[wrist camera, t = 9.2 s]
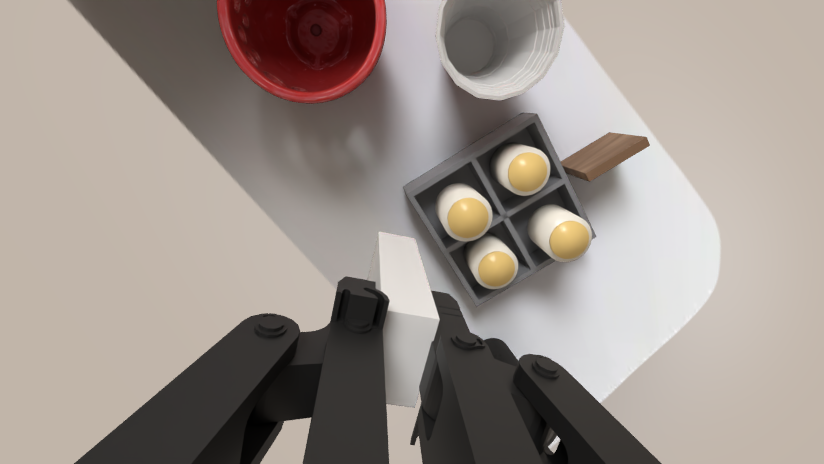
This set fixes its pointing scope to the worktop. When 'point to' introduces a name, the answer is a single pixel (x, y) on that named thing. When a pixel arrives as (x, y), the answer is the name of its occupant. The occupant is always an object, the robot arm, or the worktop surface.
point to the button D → (559, 233)
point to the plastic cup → (498, 44)
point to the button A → (463, 212)
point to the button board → (496, 200)
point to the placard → (603, 155)
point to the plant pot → (304, 44)
